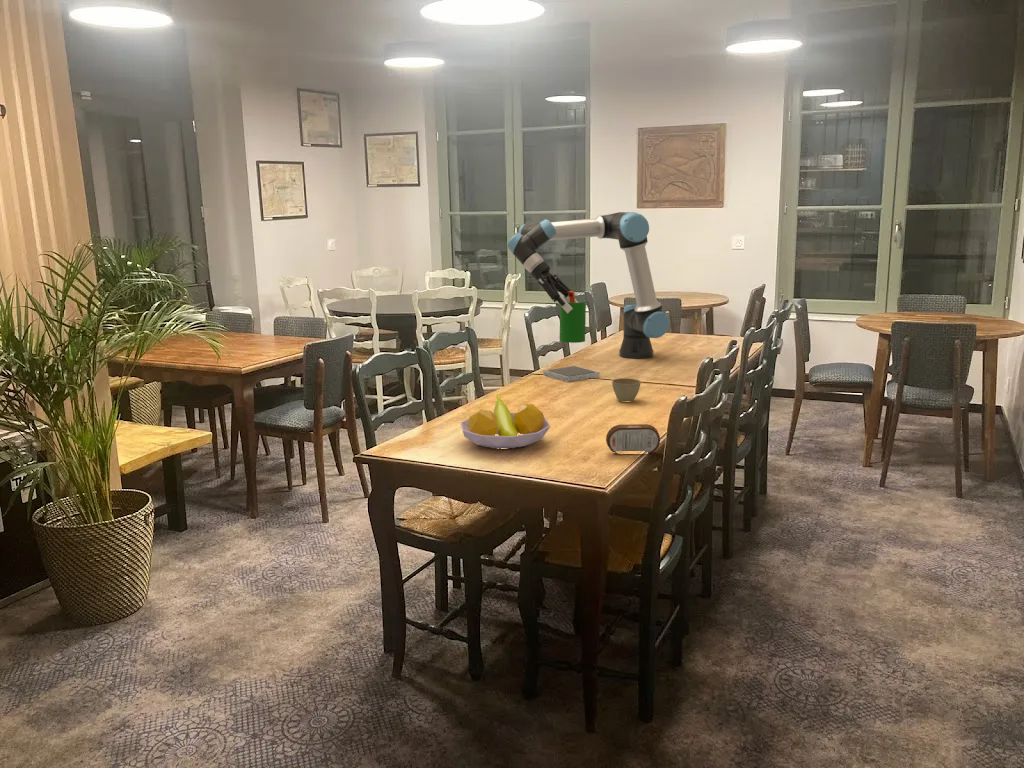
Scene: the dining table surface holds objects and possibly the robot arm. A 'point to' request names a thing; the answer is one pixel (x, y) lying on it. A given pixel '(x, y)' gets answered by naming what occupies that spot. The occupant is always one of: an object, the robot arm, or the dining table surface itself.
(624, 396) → the flower pot
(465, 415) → the dining table surface
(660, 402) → the dining table surface
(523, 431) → the fruit bowl
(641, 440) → the tin
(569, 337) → the green cylindrical container
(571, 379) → the grey flat square slab
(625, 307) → the robot arm
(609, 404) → the dining table surface
